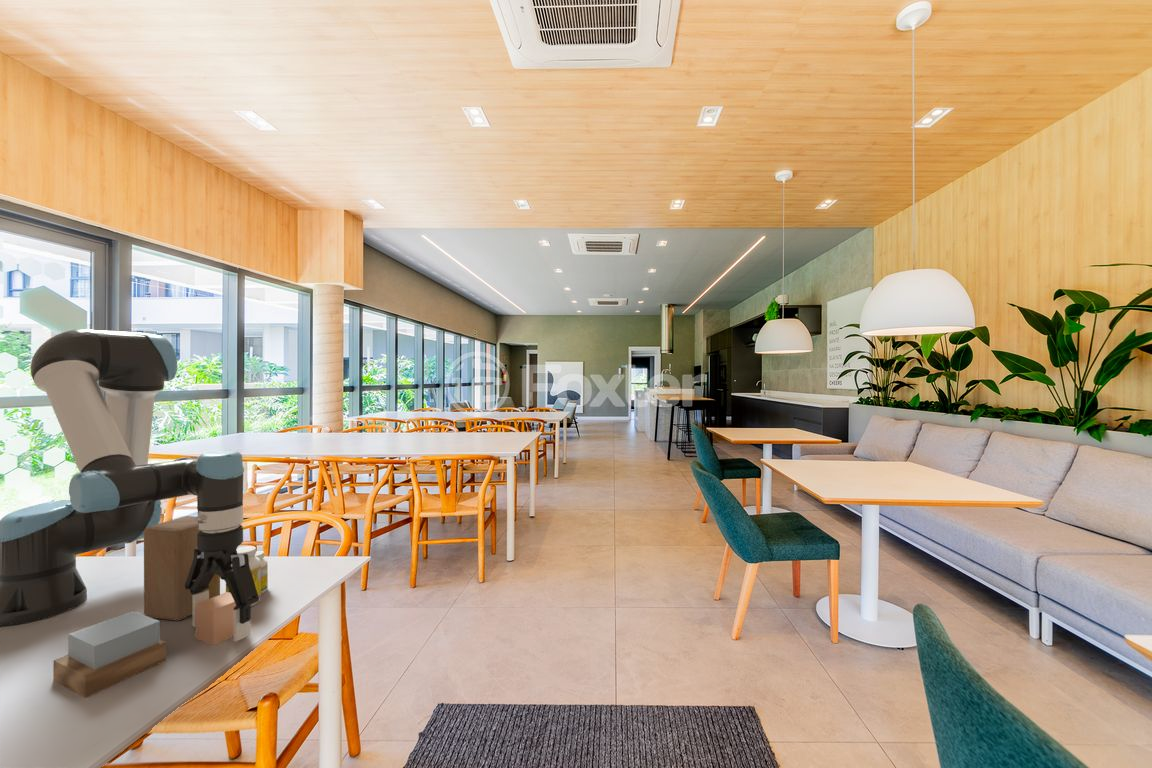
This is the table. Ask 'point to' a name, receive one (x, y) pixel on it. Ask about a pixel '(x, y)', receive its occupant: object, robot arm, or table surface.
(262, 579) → the supplement bottle
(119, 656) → the block
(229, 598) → the stack block
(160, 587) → the block
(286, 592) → the table surface
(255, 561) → the supplement bottle
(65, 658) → the tower base
